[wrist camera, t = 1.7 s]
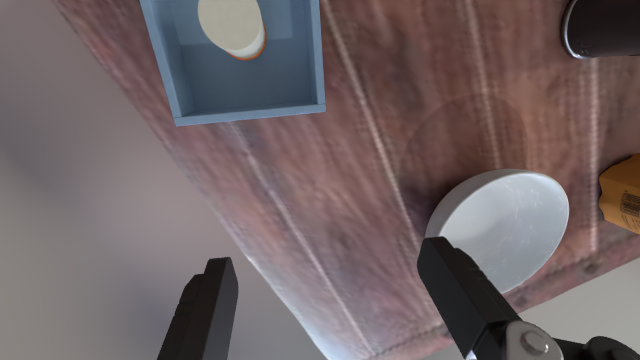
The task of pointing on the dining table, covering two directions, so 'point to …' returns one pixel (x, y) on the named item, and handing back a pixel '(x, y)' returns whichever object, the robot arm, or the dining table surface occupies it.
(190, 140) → the dining table surface
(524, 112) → the dining table surface
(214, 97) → the tote
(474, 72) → the dining table surface
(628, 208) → the coffee package
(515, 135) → the dining table surface
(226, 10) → the white cylinder orange band
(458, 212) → the serving bowl
